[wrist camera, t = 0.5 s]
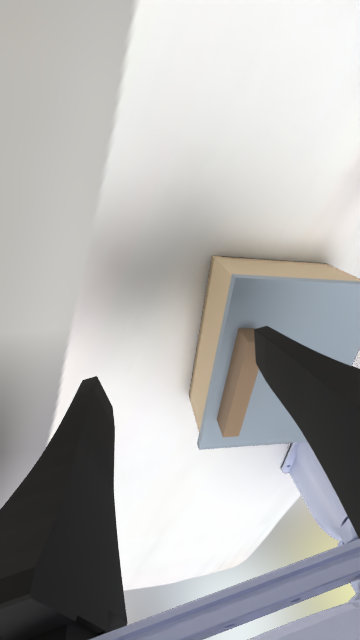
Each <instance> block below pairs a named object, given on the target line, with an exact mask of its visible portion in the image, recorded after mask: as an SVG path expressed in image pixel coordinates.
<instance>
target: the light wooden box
mask: <svg viewBox="0 0 360 640" xmlns="http://www.w3.org/2000/svg"><path fill="white" fill-rule="evenodd" d="M232 274H241V275H258V276H275V277H293V278H310V279H327V280H345V281H360V279H359V278H357V277H355V276H352V275H350V274H348V273H346V272H344V271H341V270H339V269H337V268H335V267H333V266H331V265H328V264H322V263H308V262H294V261H280V260H266V259H252V258H237V257H223V256H212V259H211V265H210V271H209V277H208V283H207V289H206V295H205V301H204V307H203V313H202V319H201V325H200V332H199V338H198V344H197V350H196V356H195V362H194V368H193V374H192V380H191V386H190V392H189V397H190V401H191V405H192V408H193V412H194V415H195V419H196V423H197V426H198V430H199V433H200V428H201V423H202V418H203V413H204V408H205V404H206V399H207V394H208V389H209V384H210V379H211V374H212V369H213V364H214V360H215V355H216V350H217V345H218V340H219V335H220V330H221V325H222V321H223V316H224V311H225V306H226V301H227V296H228V291H229V286H230V281H231V277H232Z"/></svg>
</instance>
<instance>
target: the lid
mask: <svg viewBox="0 0 360 640" xmlns="http://www.w3.org/2000/svg"><path fill="white" fill-rule="evenodd" d="M264 326H269V327H270V328H272V329H274V330H276V331H278V332H280V333H282V334H283V335H285V336H287V337H289V338H291V339H293V340H295V341H296V342H298V343H300V344H302V345H304V346H306V347H308V348H310V349H312V350H314V351H317V352H319V353H321V354H323V355H325V356H328V357H330V358H332V359H335V360H337V361H340V362H342V363H345V364H347V365H350V366H352V364H353V361H354V359H355V357H356V355H357V353H358V351H359V349H360V281H345V280H327V279H310V278H293V277H275V276H258V275H241V274H232V277H231V281H230V286H229V291H228V296H227V301H226V306H225V311H224V316H223V321H222V325H221V330H220V335H219V340H218V345H217V350H216V355H215V360H214V364H213V369H212V374H211V379H210V384H209V389H208V394H207V399H206V404H205V408H204V413H203V418H202V423H201V428H200V433H199V438H198V443H197V444H198V448H199V450H201V449H215V448H228V447H241V446H255V445H268V444H282V443H295V442H307V440H306V438H305V437H304V435H303V433H302V432H301V430H300V428H299V427H298V425H297V424H296V422H295V421H294V420H293V418H292V417H291V415H290V414H289V413H288V411H287V410H286V409H285V407H284V406H283V404H282V403H281V402H280V400H279V399H278V398H277V396H276V395H275V393H274V392H273V391H272V389H271V388H270V386H269V385H268V384H267V382H266V381H265V379H264V377H263V375H262V374H261V372H260V370H259V368H258V366H257V364H256V358H255V339H254V329H257V328H260V327H264Z"/></svg>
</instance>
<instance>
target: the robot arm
mask: <svg viewBox="0 0 360 640" xmlns="http://www.w3.org/2000/svg"><path fill="white" fill-rule="evenodd" d="M254 339H255V358H256V364H257V366H258V368H259V370H260V372H261V374H262V375H263V377H264V379H265V381H266V382H267V384H268V385H269V386H270V388H271V389H272V391H273V392H274V393H275V395H276V396H277V398H278V399H279V400H280V402H281V403H282V404H283V406H284V407H285V409H286V410H287V411H288V413H289V414H290V415H291V417H292V418H293V420H294V421H295V422H296V424H297V425H298V427H299V428H300V430H301V432H302V433H303V435H304V437H305V438H306V440H307V442H295V443H293V444H292V446H291V448H290V451H289V453H288V455H287V457H286V460H285V462H284V464H283V467H282V469H281V470H282V472H283V473H290V475H291V477H292V479H293V481H294V483H295V484H296V486H297V488H298V490H299V492H300V494H301V496H302V497H303V499H304V501H305V503H306V505H307V507H308V509H309V510H310V512H311V514H312V516H313V518H314V519H315V521H316V522H317V523H318V525H319V526H320V527H321V528H322V529H323V530H324V531H325V532H326V533H327V534H328V535H330V536H331V537H333V538H334V539H337V540H339V541H340V542H339V543H338V547H336V548H333V549H330V550H328V551H325V552H322V553H320V554H317V555H314V556H312V557H309V558H306V559H304V560H301V561H298V562H296V563H293V564H290V565H288V566H285V567H283V568H279V569H277V570H274V571H271V572H269V573H266V574H264V575H261V576H258V577H255V578H253V579H250V580H247V581H245V582H242V583H239V584H237V585H234V586H232V587H229V588H226V589H223V590H221V591H218V592H215V593H213V594H210V595H207V596H205V597H202V598H199V599H197V600H194V601H191V602H189V603H186V604H183V605H180V606H178V607H175V608H172V609H170V610H167V611H164V612H162V613H159V614H156V615H154V616H151V617H148V618H146V619H143V620H140V621H138V622H135V623H133V624H130V625H127V616H126V610H125V602H124V593H123V585H122V577H121V568H120V559H119V549H118V539H117V528H116V517H115V503H114V442H115V427H114V416H113V408H112V405H111V403H110V401H109V399H108V397H107V395H106V393H105V391H104V389H103V387H102V385H101V383H100V381H99V379H98V378H97V376H96V377H92V378H89V379H86V380H83V381H82V383H81V385H80V386H79V388H78V391H77V393H76V395H75V397H74V399H73V401H72V403H71V405H70V407H69V409H68V410H67V412H66V414H65V416H64V418H63V420H62V422H61V424H60V425H59V427H58V429H57V431H56V432H55V434H54V436H53V437H52V439H51V441H50V442H49V444H48V446H47V447H46V449H45V451H44V452H43V454H42V456H41V457H40V458H39V460H38V461H37V463H36V464H35V465H34V467H33V468H32V470H31V471H30V473H29V474H28V475H27V477H26V478H25V479H24V480H23V482H22V483H21V484H20V486H19V487H18V488H17V489H16V491H15V492H14V493H13V495H12V496H11V497H10V498H9V500H8V501H7V502H6V503H5V505H4V506H3V507H2V508H1V509H0V640H203V639H206V638H208V637H211V636H213V635H216V634H218V633H221V632H223V631H226V630H229V629H232V628H234V627H237V626H239V625H242V624H244V623H247V622H249V621H252V620H255V619H257V618H260V617H262V616H265V615H268V614H270V613H273V612H275V611H278V610H280V609H283V608H286V607H288V606H291V605H294V604H296V603H299V602H301V601H304V600H306V599H309V598H312V597H314V596H317V595H319V594H322V593H325V592H327V591H330V590H332V589H335V588H338V587H340V586H343V585H345V584H348V583H350V584H351V586H352V587H353V589H354V591H355V592H356V595H355V596H353V597H352V598H351V600H349V602H348V603H345V604H342V605H339V606H336V607H333V608H330V609H327V610H324V611H321V612H318V613H315V614H312V615H310V616H307V617H304V618H301V619H298V620H296V621H293V622H290V623H288V624H285V625H283V626H280V627H277V628H275V629H272V630H270V631H267V632H265V633H263V634H260V635H258V636H255V637H253V638H250V639H248V640H360V369H358V368H356V367H353V366H350V365H347V364H345V363H342V362H340V361H337V360H335V359H332V358H330V357H328V356H325V355H323V354H321V353H319V352H317V351H314V350H312V349H310V348H308V347H306V346H304V345H302V344H300V343H298V342H296V341H295V340H293V339H291V338H289V337H287V336H285V335H283V334H282V333H280V332H278V331H276V330H274V329H272V328H270V327H269V326H264V327H260V328H257V329H254ZM126 625H127V626H126Z"/></svg>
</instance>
